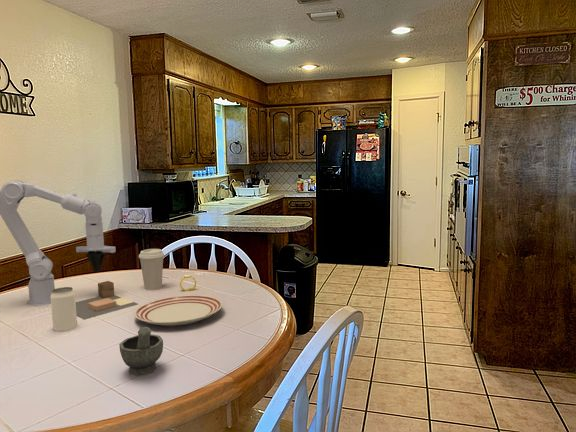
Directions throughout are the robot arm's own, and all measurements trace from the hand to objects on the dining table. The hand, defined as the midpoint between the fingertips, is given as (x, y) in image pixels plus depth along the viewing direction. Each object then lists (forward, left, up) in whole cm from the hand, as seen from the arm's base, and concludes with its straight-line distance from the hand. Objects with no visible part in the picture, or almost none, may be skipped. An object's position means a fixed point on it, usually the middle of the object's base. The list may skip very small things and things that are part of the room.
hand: (97, 271), depth 163 cm
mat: (+12, -6, -9) cm, 16 cm away
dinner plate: (+42, +6, -10) cm, 43 cm away
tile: (+11, -6, -8) cm, 15 cm away
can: (+24, -22, -10) cm, 34 cm away
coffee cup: (+8, +18, -10) cm, 22 cm away
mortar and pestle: (+67, -22, -10) cm, 71 cm away
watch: (+21, +25, -10) cm, 34 cm away
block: (+4, +1, -9) cm, 10 cm away
